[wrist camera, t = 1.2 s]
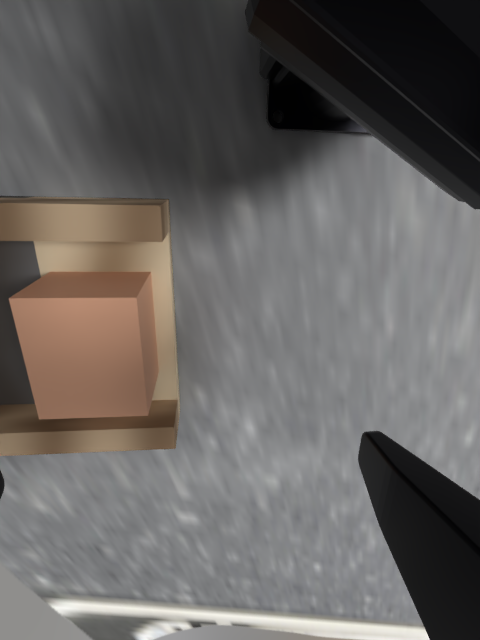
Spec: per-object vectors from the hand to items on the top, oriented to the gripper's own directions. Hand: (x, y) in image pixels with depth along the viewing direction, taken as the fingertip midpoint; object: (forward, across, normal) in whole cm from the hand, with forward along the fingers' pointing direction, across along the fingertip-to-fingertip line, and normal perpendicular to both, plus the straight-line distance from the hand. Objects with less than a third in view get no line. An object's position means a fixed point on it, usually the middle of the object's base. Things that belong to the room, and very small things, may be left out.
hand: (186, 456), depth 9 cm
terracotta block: (+11, +5, +1) cm, 12 cm away
